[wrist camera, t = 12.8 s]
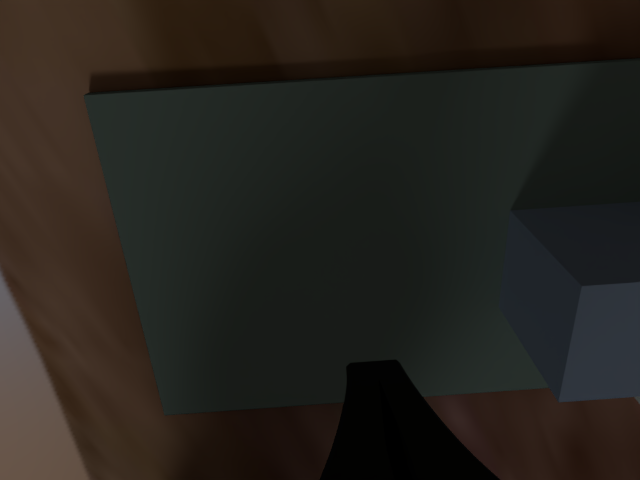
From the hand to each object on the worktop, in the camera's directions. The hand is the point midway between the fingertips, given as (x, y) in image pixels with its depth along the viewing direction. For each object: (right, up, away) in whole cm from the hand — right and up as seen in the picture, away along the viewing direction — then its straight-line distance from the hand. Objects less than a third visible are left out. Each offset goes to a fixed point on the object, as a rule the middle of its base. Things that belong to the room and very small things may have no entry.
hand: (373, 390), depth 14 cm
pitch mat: (+5, +4, +5) cm, 8 cm away
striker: (+8, +3, +5) cm, 10 cm away
